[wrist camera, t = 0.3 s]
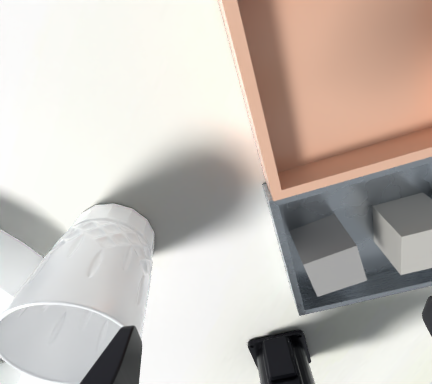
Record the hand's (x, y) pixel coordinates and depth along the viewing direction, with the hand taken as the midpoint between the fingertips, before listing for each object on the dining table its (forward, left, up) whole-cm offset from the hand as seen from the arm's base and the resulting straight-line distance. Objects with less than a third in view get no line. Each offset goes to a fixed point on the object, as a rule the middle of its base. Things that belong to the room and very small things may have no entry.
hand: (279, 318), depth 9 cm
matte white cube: (-10, -11, -14) cm, 20 cm away
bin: (-10, -8, -14) cm, 19 cm away
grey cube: (-10, -5, -14) cm, 18 cm away
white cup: (-4, +12, -14) cm, 19 cm away
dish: (+3, -8, -14) cm, 16 cm away
